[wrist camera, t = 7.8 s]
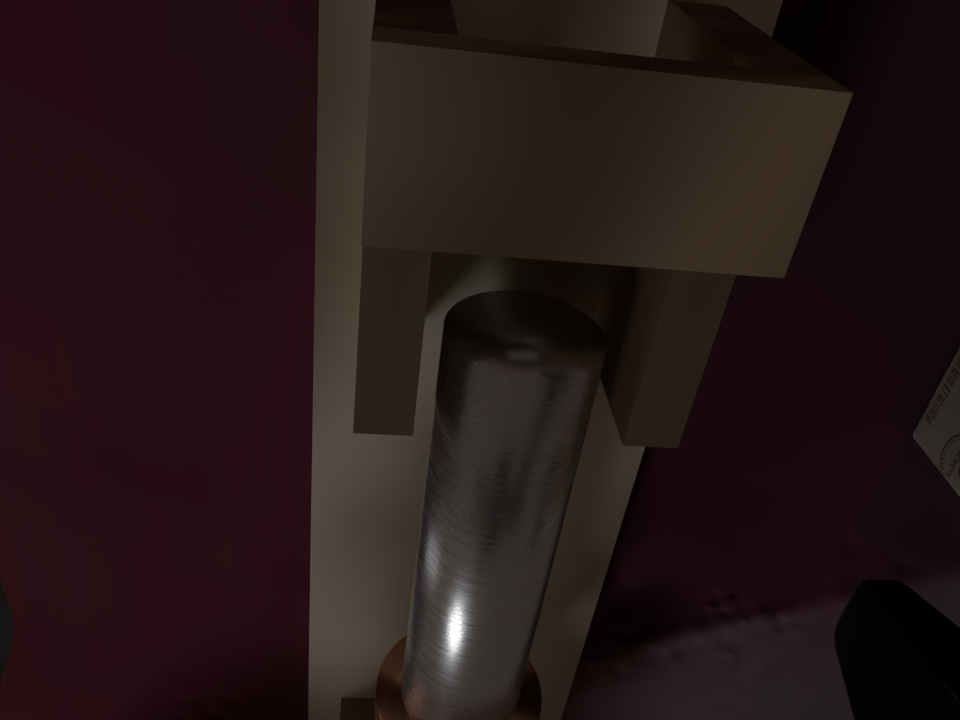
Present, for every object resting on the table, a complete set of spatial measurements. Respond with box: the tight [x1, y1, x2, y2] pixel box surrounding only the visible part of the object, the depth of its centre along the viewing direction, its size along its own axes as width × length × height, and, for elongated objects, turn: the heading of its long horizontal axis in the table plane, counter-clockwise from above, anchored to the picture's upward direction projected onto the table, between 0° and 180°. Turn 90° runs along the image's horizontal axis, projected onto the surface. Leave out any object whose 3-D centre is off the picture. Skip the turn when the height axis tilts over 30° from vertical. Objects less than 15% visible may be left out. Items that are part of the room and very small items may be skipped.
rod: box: [374, 290, 607, 720], centre depth 22 cm, size 5×19×5 cm, turn 173°
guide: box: [308, 0, 853, 720], centre depth 21 cm, size 9×27×7 cm, turn 173°
